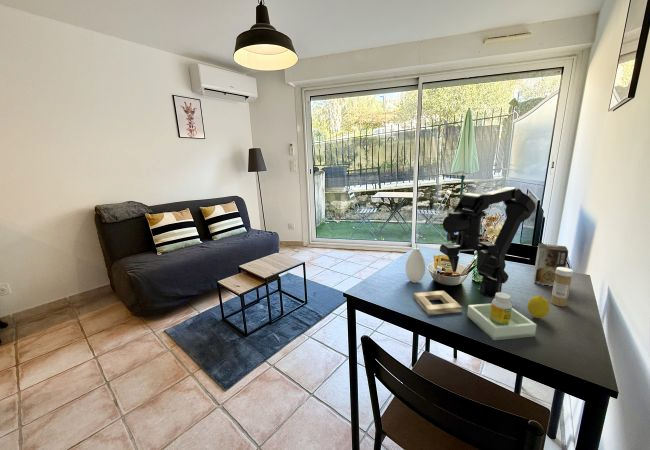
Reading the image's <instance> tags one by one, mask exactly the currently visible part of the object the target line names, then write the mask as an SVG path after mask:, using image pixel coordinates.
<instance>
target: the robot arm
mask: <svg viewBox="0 0 650 450" xmlns="http://www.w3.org/2000/svg"><path fill="white" fill-rule="evenodd" d="M501 202H503V204H504V206H506V207H505V209H504V211H505V216H506V218H505V221H504V222H503V224H502V226H501V229H500V231H499V233H498V234H497V237H496V239H495V241H494V243H493V242H490V241H488V240H487V241H479V240H480V238H482V237H483V233H481V232H480V231H481V222H482V218H483V217H486V216H487V214H486V213H485V212H484V211H486V210H487V209H488V208H489V206H492V205H494V204H498V203H501ZM535 209H536V203H535V202H534V199H532V198H531V196H530V195H527V194H526V193H524V192H523V191H522V190H521V189H520V188H518V187H510V186H506V187H503V188H500V189H495V190H491V191H487V192H478V193H477V192H466V193H464V194H463V195H462V197H461V199H460V200H459V201H458V203H457V204H456V206H455V207H454V210H453V212H448V214H447V216H446V217H445V218H444V219H443V221H442V228H443V230H444V231H445V232H446V233H447V235H446V241H447V242H451V243H442V244H441V245H440V246H439V252H441V254H444V255H445V256H447V258H448V261H449V263H450V265H451V269H452V272H453V273H456V272H457V268H458V264H459V260H460V256H459V254H460V253H461V252H476V253H477V260H476V270H477V273H478V276H479V277H481V281H480V287H478V288H477V290H478V291H479V292H480V293H482V294H483V295H485V296H487V297H488V298H495V294H496V293H498V292H501V293H502V287H503V284H506V282H508V280H509V278H510V277H509V275H508V273H507V272H506V271H505V268H506V265H507V264H506V261H505V260H506V259H505V256H506V254H507V253H508V250H509V249H510V247H511V244H512V242H513V240H514V239H515V237H516V234H517V233H518V230H519V228H520V226H521V224H522V223H523V222H525V221H526V220H528V219H529V218H530V217H531V215H532V214H533V212H535ZM455 233H458V234H455ZM454 244H456V245H457V246H456V245H454Z"/></svg>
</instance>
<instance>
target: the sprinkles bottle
mask: <svg viewBox="0 0 650 450" xmlns="http://www.w3.org/2000/svg"><path fill="white" fill-rule="evenodd" d="M573 274H574V270H573V269H571V268H569V267H557V268H556V276H555V280H554V286H553V287H552V290H551V292H552V293H551V299H550V303H551V304H552V305H554V306H557V307H566V306H567V305H568V304H567V302H568V298H569V293H570V286H571V281H572V277H573V276H574V275H573Z"/></svg>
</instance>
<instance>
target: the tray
mask: <svg viewBox="0 0 650 450" xmlns="http://www.w3.org/2000/svg"><path fill="white" fill-rule="evenodd" d="M491 305H492V302H491V303H479V304H477V303H476V304H468V306H467V314H466V316H467V317H468V318H469V319H470V321H472V323H474V324H475V325H477V327H479V329H480V330H482V331H483V332H484V333H485V334H486V335H487V336H488V337H490V339H492V340H493V341H500V340H501V341H502V340H511V339H512V340H513V339H521V338H522V339H523V338H531V337H535V335H536V332H537V326H538V325H537V323H535V322H533V320H531V319H529V318H528V317H526V316H525V315H523V314H522V313H521V312H519V311H517V310H516V308H513V307H512V309H511V315H510V322H509V325H503V326H496V325H494V324H493V323H492V322H491V321H490V312H491Z"/></svg>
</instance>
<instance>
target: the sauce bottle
mask: <svg viewBox="0 0 650 450" xmlns="http://www.w3.org/2000/svg"><path fill="white" fill-rule="evenodd" d="M415 243H416V244H415V247H413V248H412V250H411V251H410V253H409V255H408V256H407V259H406V262H405V267H404V268H405V274H406V278H407V279H408V280H409V281H410V282H411V283H413V284H417V283H420V281H422V280H423V279H424V276H425V273H426V262H425V258H424V255H423V253H422V252H421V249H420V248H419V247H418V243H417V242H415Z"/></svg>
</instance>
